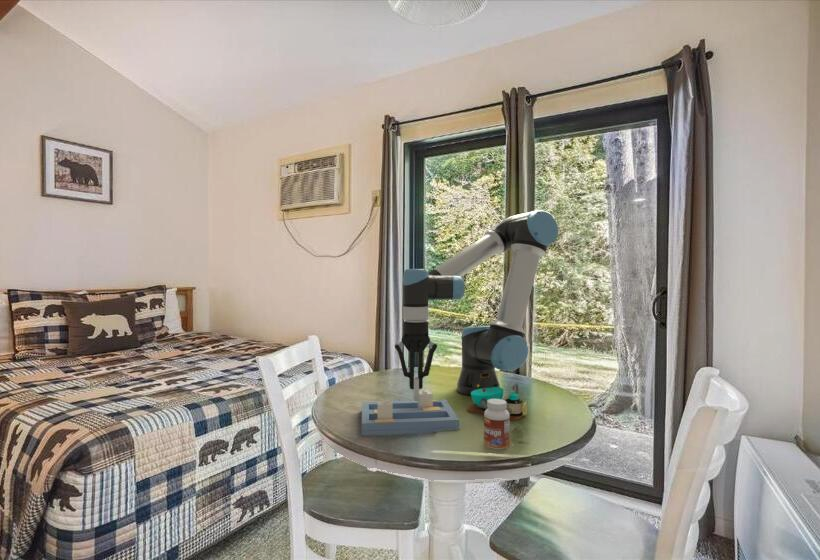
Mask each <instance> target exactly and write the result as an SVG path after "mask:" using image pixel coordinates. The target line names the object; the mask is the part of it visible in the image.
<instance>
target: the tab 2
mask: <svg viewBox="0 0 820 560" xmlns="http://www.w3.org/2000/svg"><path fill="white" fill-rule="evenodd" d="M433 397H434V394H433V392H432V390H431V389H429V390H427V389H426V388H422V390H419V401H418V408H422V407H433Z"/></svg>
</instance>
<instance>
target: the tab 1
mask: <svg viewBox="0 0 820 560" xmlns="http://www.w3.org/2000/svg"><path fill="white" fill-rule="evenodd" d="M392 401H393V400H389V399H386V398H383V399H382V400H377V401H376V402H377V419H393V404H392Z"/></svg>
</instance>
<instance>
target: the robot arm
mask: <svg viewBox="0 0 820 560" xmlns="http://www.w3.org/2000/svg"><path fill="white" fill-rule="evenodd" d="M558 236H559V225H558V222H557V220H556V218H555V216H554V215H553V214H551V213H550V212H548V211H547V210H541V209H540V210H532V211H529V212H525V213H520V214H515V215H511V216H509V217H506V218H505V219H503V220H501V221H500V222H499V223H497V224H496V225H494V226H492V227H491V228H490V229H489V230H486V231H485V232H484V236H483V237H481V238H480V239H478V240H476V241H475V242H473V243H471V244H470V245H468V246H467V247H465V248H464V249H462V250H461V251H459V252H458V253H456V254H454V255H453V256H452V257H450V258H448V259H447V260H446V261H444V262H442V263H441V264H439V265H437V266H436V267H434V268H433V269H432V270H430V271H429V270H428V269H426V268H406V269H405V270H404V271H403V277H402V295H403V296H402V297H403V301H402V303H403V305H402V307H403V309H402V319H403V320H404V321H403V323H402V327H403V328H402V331H403V332H402V337H401V340H400V341H399V342H398V343H394V348H395V350H396V351H397V353H398V357H399V361H400V362H399V363H400V365H401V370H402V373H403V374H402V375H403V376H404V377H405V378H409V380H408V382H409V383H408V385H409V388H410V390H412V399H413V400H414V401H419V391H420V390H423V387H424V386H423V381H424V380H423V379H424V378H425V377H428V376H430V375H429V374H430V371H431V366H432V362H433V358H434V355H435V351H436V350H437V348H438V344H437V343H435V342H433V341H432V340H431V338H430V335H429V322H428V319H429V301H449V300H450V301H454V300H460V299H462V298H463V297H464V296H465V291H466V284H465V281H464V278H463V276H465V275H467V273H470V272H471V271H472V270H474V269H475V268H477V267H478V266H480V265H481V264H483V263H484V262H487V260H489V259H490V258H492V257H493V256H494V255H502V254H503V253H504V252H506V251H508V250H512V251H513V254H512V260H511V263H510V266H509V270H508V274H507V278H506V282H505V285H504V289H503V293H502V297H501V300H500V304H499V307H498V310H497V311H498V312H497V316H496V319H495V320H494V321H493V322H490V324H489V325H480V326H466V327H463V328H462V329H461V371H460V374H459V377H458V379H457V383H456V391H457V392H458V393H460V394H463V395H467V396H471V392H472V391H474V390H477V389H482V388H491V387H500V388H501V384H500V382H499V379H498V375H497V372H496V369H497V370H499V371H505V372H512V371H515V370H518V369H519V368H521V367H523V365H524V364H525V362H526V361H527V358H528V355H529V346H528V343H527V341H526V340H525V337H526V332H525V330H524V329H523V326H524V325H523V324H524V321H525V317H526V312H527V308H528V305H529V301H530V297H531V293H532V289H533V286H534V282H535V277H536V273H537V269H538V265H539V263H540V258H542V257H544V256H546V254H547V249H548V246H550V245H552V244H553V243H555V242H556V241H557V239H558ZM427 346H428V352H427V357H426V361H425V364H424V365H423V361H424V359H423V355H424V351H425V350H426V348H427ZM404 347H405V348H406V350H407V351H408V355H409V356H408V358H409V359H408V360H409V361H408V362H409V363H408V367H409V368H408V369H409V370H408V369H407V365H406V362H405V356H404V352H403V349H404ZM415 353H417V376H415ZM423 366H424V368H423ZM482 373H489V374H490V376H491V377H490V379H487V380H486V386H485V380H481V381H480V374H482ZM482 377H488V376H487V375H484V376H482ZM479 381H480V383H479ZM478 383H479V385H480V386H479V387H477V385H478ZM484 386H485V387H484ZM413 400H412V401H413Z"/></svg>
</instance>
